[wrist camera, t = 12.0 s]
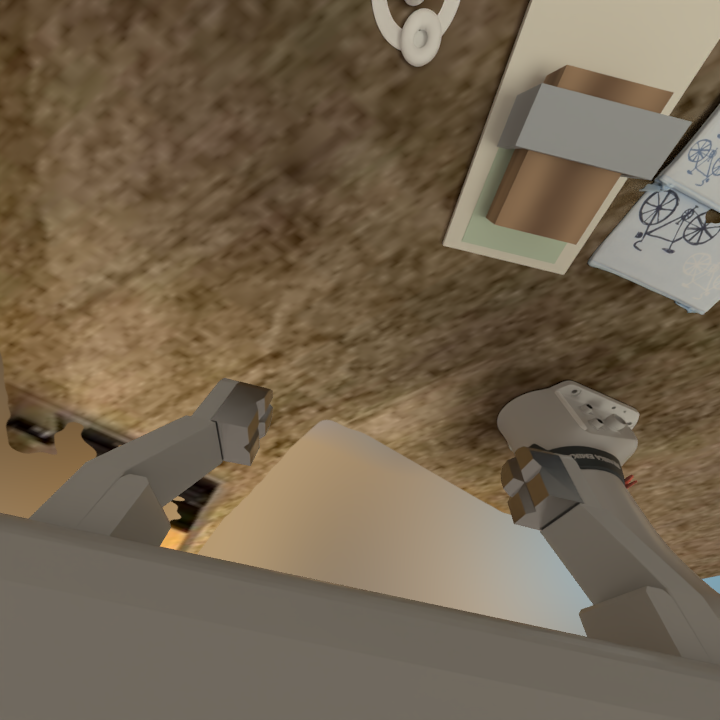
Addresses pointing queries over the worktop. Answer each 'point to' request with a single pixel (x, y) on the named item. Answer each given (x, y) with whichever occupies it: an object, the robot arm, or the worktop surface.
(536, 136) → the tunnel
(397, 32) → the white ring-shaped piece
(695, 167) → the bicycle print towel
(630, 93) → the wood grain block
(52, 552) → the robot arm
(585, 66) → the board
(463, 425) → the worktop surface
